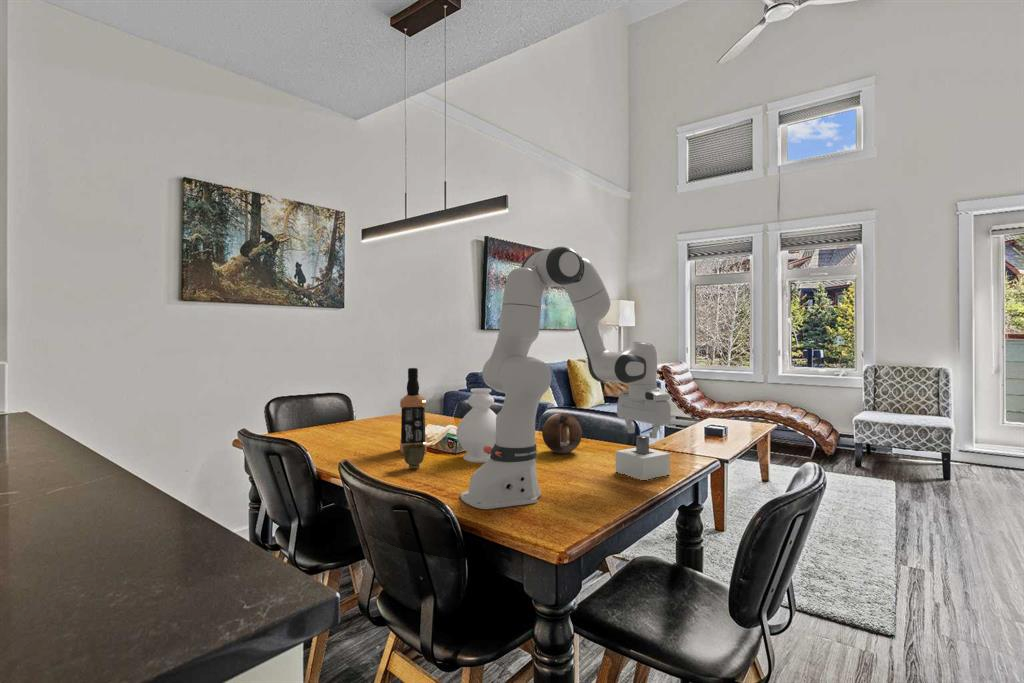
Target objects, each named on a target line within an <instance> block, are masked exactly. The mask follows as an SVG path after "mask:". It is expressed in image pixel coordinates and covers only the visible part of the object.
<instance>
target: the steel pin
mask: <svg viewBox="0 0 1024 683" xmlns="http://www.w3.org/2000/svg"><path fill="white" fill-rule="evenodd" d="M635 438H636V439H635V444H636V446H635V448H636V453H637V454H641V455H646V454H649V448H650V437H649V436H648V435H636V437H635Z"/></svg>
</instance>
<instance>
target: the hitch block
mask: <svg viewBox="0 0 1024 683" xmlns="http://www.w3.org/2000/svg"><path fill="white" fill-rule="evenodd" d="M616 472H618V473H617V474H619V473H621V474H620V475H622V474H625V475H628V476H627V477H629V476H631V477H630V478H632V477H635V478H638V479H641V480H646V479H650V478H655V477H660V476H665V475H671V453H669V452H666V451H662V450H658V449H657V450H656V449H653V448H650V447H649V454H646V455H641V454H637V453H636V447H632V448H631V447H630V448H625V449H620V450H619V449H618V450H615V473H616ZM625 475H624V476H625ZM665 477H666V476H665ZM635 478H634V479H635ZM638 479H637V480H638ZM641 480H640V481H641Z"/></svg>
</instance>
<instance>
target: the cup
mask: <svg viewBox="0 0 1024 683" xmlns="http://www.w3.org/2000/svg"><path fill="white" fill-rule="evenodd" d="M424 452H425V446H424V444H422V443H420V444H418V443H417V445H415V444H414V443H413V444H411V443H410V445H408V444H407V446H406V445H405V444H404V445H403V454H404V455H403V459H404V462H405V463H406V464H407V465H408V467H407V468H408V469H409V470H412V471H415V470H418V469H420V466H421V465H420V464H422V462H423V461H424V458H425V454H424Z"/></svg>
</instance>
